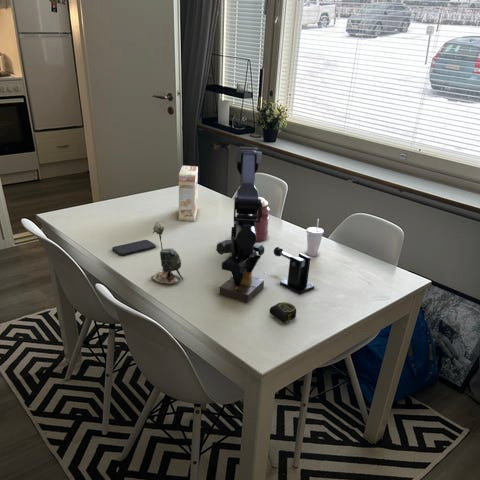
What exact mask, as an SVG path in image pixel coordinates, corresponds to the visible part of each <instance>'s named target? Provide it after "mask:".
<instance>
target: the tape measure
mask: <svg viewBox="0 0 480 480" xmlns="http://www.w3.org/2000/svg"><path fill="white" fill-rule="evenodd" d="M269 314H270V315H271V316H272V317H274V318H276V319H277V320H278V321H279V322H281V323H283V324H286V323H287V322H291V321H293V320H294V319H295V318H296V316H297V308H296V306H295V305H294V304H292V303H290V302H284V301H283V302H277V303H276V304H274V305H272V306H270V308H269Z"/></svg>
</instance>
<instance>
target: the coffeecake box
mask: <svg viewBox="0 0 480 480" xmlns="http://www.w3.org/2000/svg"><path fill="white" fill-rule="evenodd" d="M198 173H199V166H196V165H181V168H180V170H179V173H178V221H187V222H195V221H196V217H197V212H198V180H199V179H198V177H199V174H198Z"/></svg>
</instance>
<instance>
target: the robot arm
mask: <svg viewBox="0 0 480 480" xmlns="http://www.w3.org/2000/svg"><path fill="white" fill-rule="evenodd" d="M234 152H235V153H234V162H235V163H236V170H237V171H238V173H239V175H240V180H239V181H240V183H239V188H238V189H237V191H236V197H234V200H233V201H234V202H233V226H231V234H230V239H225V240H222V241H219V242H217V243H216V248H215V251H216V252H217V253H218V254H219V255H221V256H222V255H225V254H230V256H228V257H227V258H226V259H225V260H223V261H222V262H221V270H223V271H227V272H230V273H231V275H232V276H233V279H234V282H235V285H236V286H239V285H240V283H241V281H242V278H243V276H244V274H245V272H251V273H252V272H253V271H254V269H255V268H256V266H257V264H258V262H259V261H260V259H262V258H261V257H262V256H263V254H264V253H265V246H264V245H263V244H261V243H259V242H256V241H257V238H256V236H257V232H256V229H255V225H256V222H260V218H262V202H261V199H258V197H259V190H258V189H257V188H256V186H255V183H256V181H255V180H256V173H257V171H258V170H259V164H262V151H259V150H258V147H249V146H248V147H247V146H246V147H245V146H239V148H238V149H237V150H236V149H235V151H234ZM257 211H258V218H257V216H252V214H253V215H256V214H257ZM237 213H238V214H239V215H237ZM236 215H237V217H236ZM252 274H253V273H252Z"/></svg>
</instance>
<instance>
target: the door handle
mask: <svg viewBox="0 0 480 480" xmlns="http://www.w3.org/2000/svg"><path fill="white" fill-rule="evenodd" d="M273 255H274V256H276V257H277V258H278V257H281V256H282V257H283V258H285V259H287V260H290V256H292V255H291V254H290V253H287V252H285V251H284V250H283V248H282V247H281V246H276V247H275V248H274V249H273ZM296 258H298V259H300V260H302V267H304V266H305V262H306V259H304V258H302V257H299V256H297V257H296Z"/></svg>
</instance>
